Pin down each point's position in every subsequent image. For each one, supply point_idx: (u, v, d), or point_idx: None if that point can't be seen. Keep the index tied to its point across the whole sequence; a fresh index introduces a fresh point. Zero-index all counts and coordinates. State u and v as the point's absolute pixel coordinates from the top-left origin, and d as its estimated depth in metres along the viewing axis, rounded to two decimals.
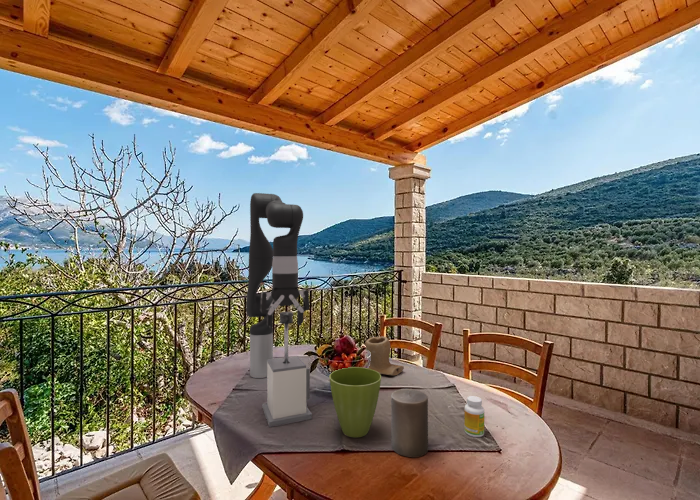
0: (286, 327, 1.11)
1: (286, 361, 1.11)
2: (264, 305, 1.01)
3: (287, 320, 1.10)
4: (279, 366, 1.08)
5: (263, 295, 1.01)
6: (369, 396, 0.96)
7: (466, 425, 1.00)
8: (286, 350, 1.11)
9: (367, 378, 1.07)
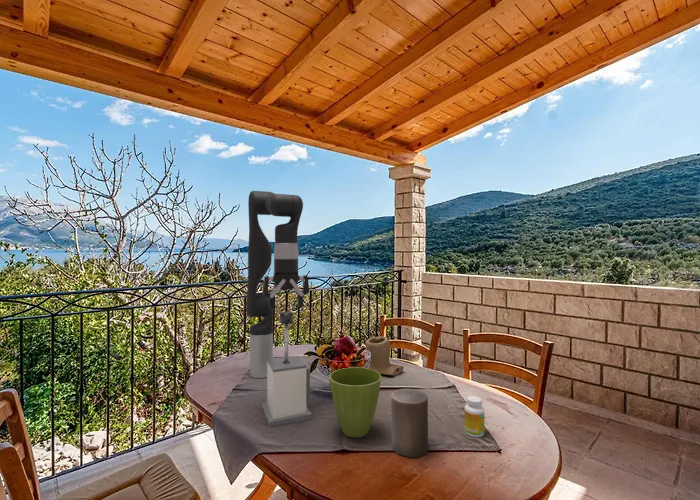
0: (286, 327, 1.11)
1: (286, 361, 1.11)
2: (266, 288, 1.08)
3: (287, 320, 1.10)
4: (279, 366, 1.08)
5: (265, 279, 1.08)
6: (369, 396, 0.96)
7: (466, 425, 1.00)
8: (286, 350, 1.11)
9: (367, 378, 1.07)
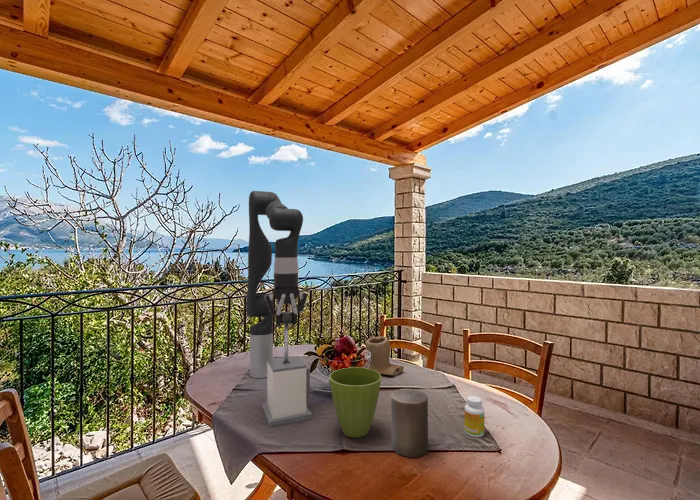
0: (286, 327, 1.11)
1: (286, 361, 1.11)
2: (271, 306, 1.09)
3: (287, 320, 1.10)
4: (279, 366, 1.08)
5: (266, 298, 1.08)
6: (369, 396, 0.96)
7: (466, 425, 1.00)
8: (286, 350, 1.11)
9: (367, 378, 1.07)
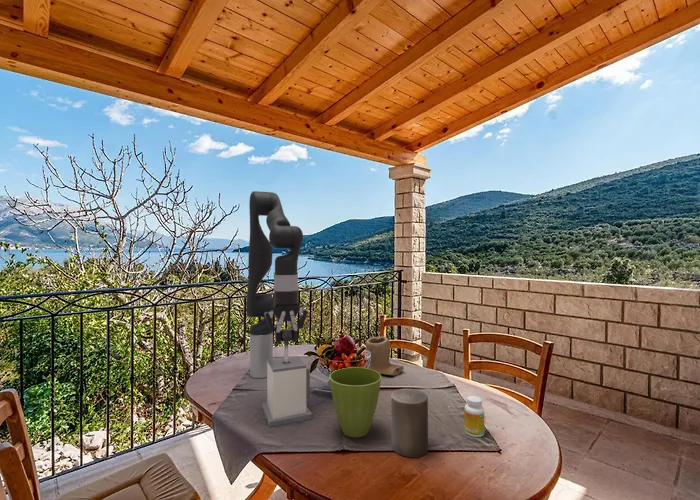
0: (286, 344, 1.11)
1: None
2: (271, 324, 1.09)
3: (287, 338, 1.10)
4: (279, 366, 1.08)
5: (266, 316, 1.08)
6: (369, 396, 0.96)
7: (466, 425, 1.00)
8: None
9: (367, 378, 1.07)
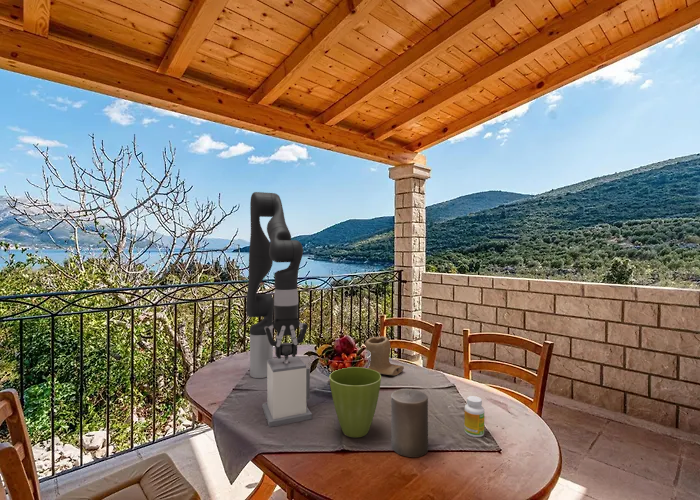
0: (286, 358, 1.11)
1: None
2: (271, 338, 1.09)
3: (287, 352, 1.10)
4: (279, 366, 1.08)
5: (266, 330, 1.08)
6: (369, 396, 0.96)
7: (466, 425, 1.00)
8: None
9: (367, 378, 1.07)
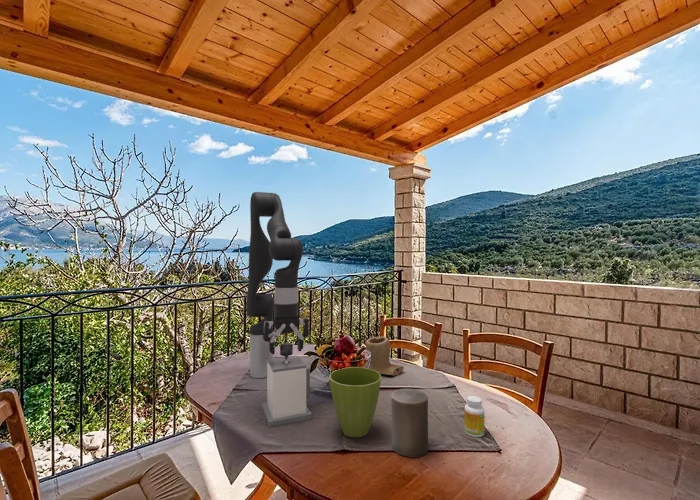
0: (286, 359, 1.11)
1: None
2: (267, 334, 1.08)
3: (287, 352, 1.10)
4: (279, 366, 1.08)
5: (266, 324, 1.08)
6: (369, 396, 0.96)
7: (466, 425, 1.00)
8: None
9: (367, 378, 1.07)
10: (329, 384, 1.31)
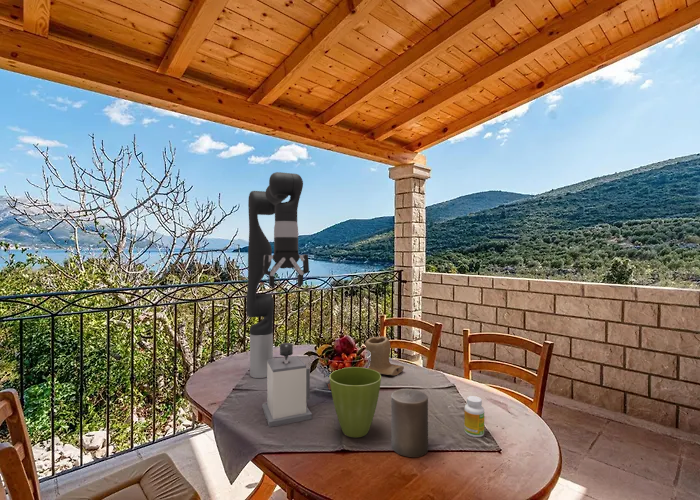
0: (286, 359, 1.11)
1: None
2: (266, 266, 1.08)
3: (287, 352, 1.10)
4: (279, 366, 1.08)
5: (265, 257, 1.08)
6: (369, 395, 0.96)
7: (466, 425, 1.00)
8: None
9: (367, 378, 1.07)
10: (328, 384, 1.31)
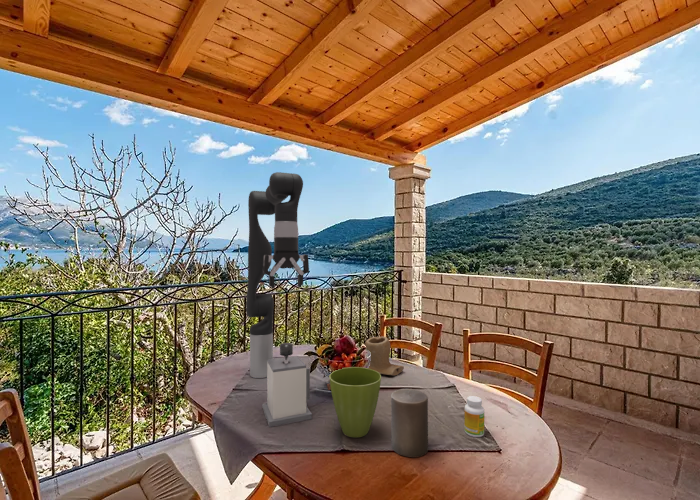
0: (286, 359, 1.11)
1: None
2: (266, 267, 1.08)
3: (287, 352, 1.10)
4: (279, 366, 1.08)
5: (265, 257, 1.08)
6: (369, 396, 0.96)
7: (466, 425, 1.00)
8: None
9: (367, 378, 1.07)
10: (327, 385, 1.31)
